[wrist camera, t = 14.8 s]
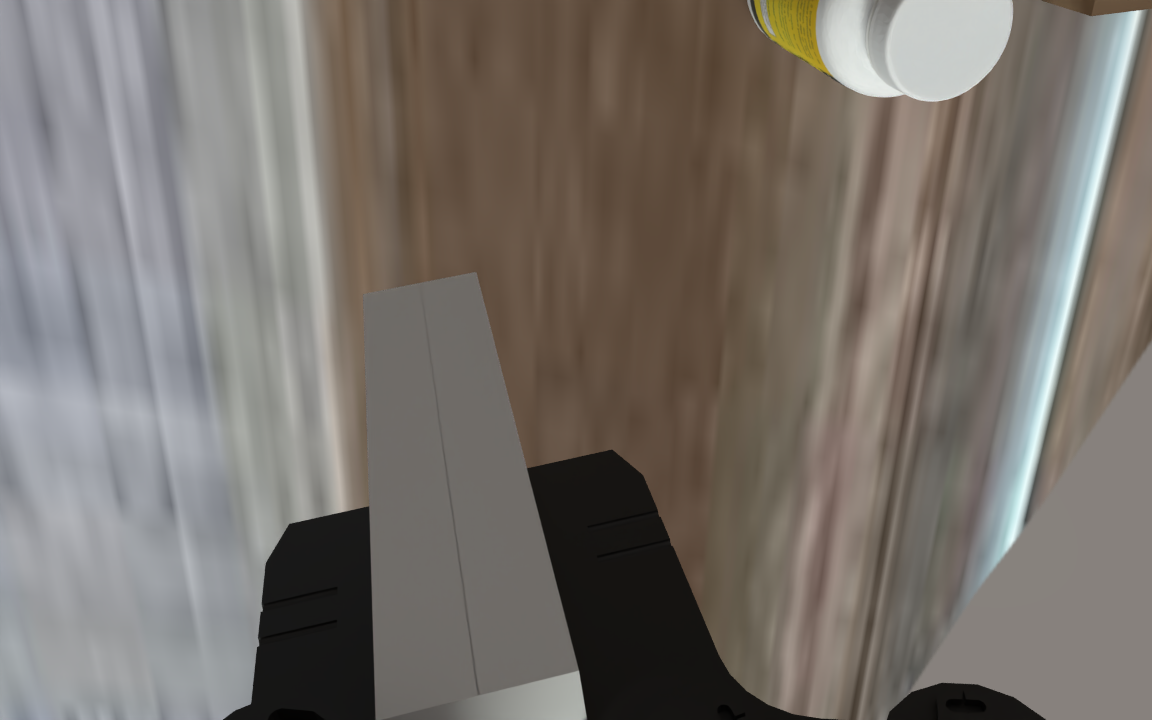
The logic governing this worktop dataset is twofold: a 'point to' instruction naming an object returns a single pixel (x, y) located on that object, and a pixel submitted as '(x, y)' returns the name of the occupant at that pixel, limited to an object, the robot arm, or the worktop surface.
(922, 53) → the supplement bottle
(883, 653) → the worktop surface
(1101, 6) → the wooden frame tray
